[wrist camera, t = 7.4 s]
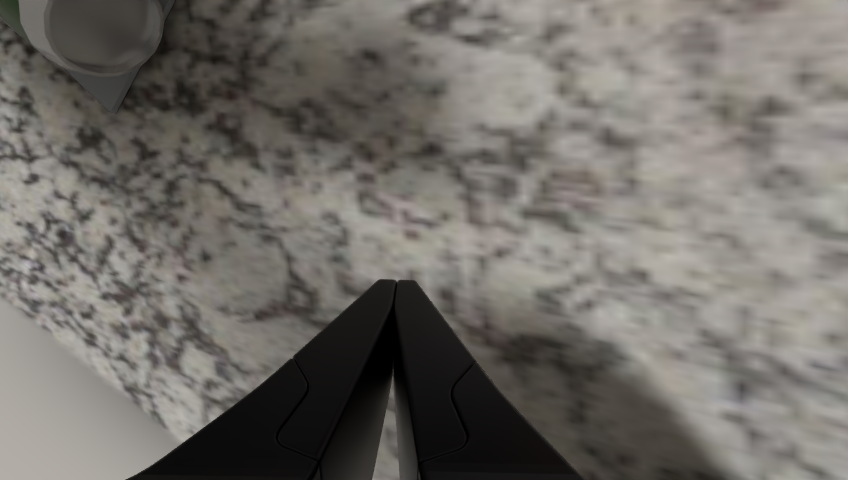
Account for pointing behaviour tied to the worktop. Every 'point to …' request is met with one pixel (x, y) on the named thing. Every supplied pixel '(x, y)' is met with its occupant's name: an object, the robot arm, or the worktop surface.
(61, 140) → the worktop surface
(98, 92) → the mat
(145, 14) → the beer can
